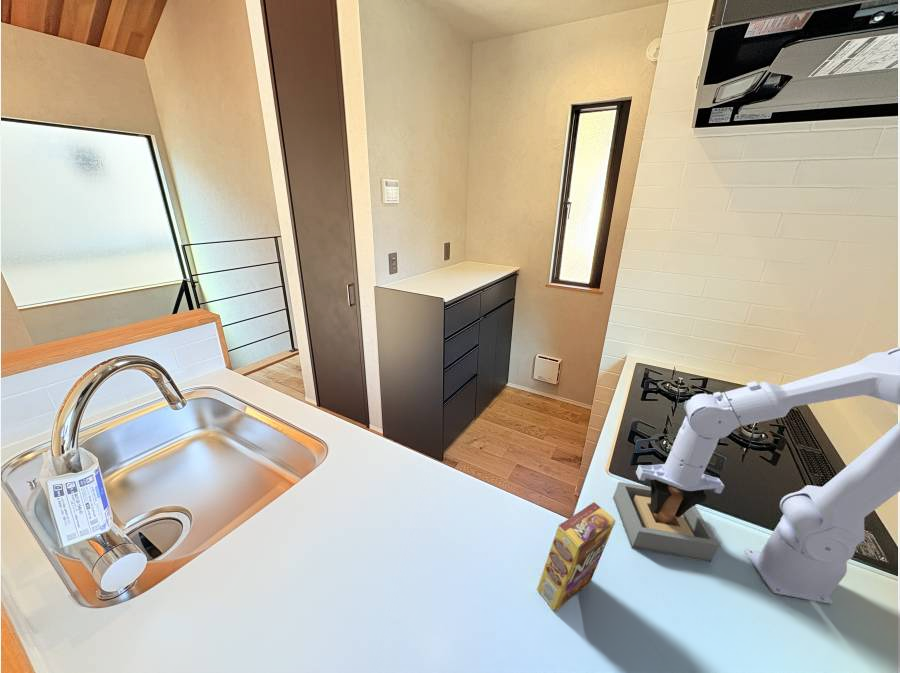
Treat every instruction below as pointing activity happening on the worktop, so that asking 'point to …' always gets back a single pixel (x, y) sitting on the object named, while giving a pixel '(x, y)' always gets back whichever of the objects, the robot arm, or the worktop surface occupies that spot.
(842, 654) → the worktop surface
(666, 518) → the peg
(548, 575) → the candy box
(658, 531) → the tray
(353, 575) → the worktop surface
